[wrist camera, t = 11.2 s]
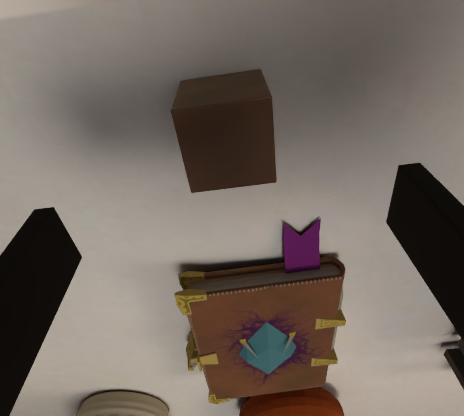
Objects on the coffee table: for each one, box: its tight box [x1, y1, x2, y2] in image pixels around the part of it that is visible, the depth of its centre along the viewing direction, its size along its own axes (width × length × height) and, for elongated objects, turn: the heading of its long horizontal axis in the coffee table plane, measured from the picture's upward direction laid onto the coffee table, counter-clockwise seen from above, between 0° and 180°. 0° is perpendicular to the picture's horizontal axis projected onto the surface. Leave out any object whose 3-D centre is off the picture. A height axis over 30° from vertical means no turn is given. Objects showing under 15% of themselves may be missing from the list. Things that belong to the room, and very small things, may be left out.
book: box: [175, 218, 346, 404], centre depth 33 cm, size 16×25×5 cm, turn 5°
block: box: [171, 70, 276, 193], centre depth 19 cm, size 5×5×5 cm
